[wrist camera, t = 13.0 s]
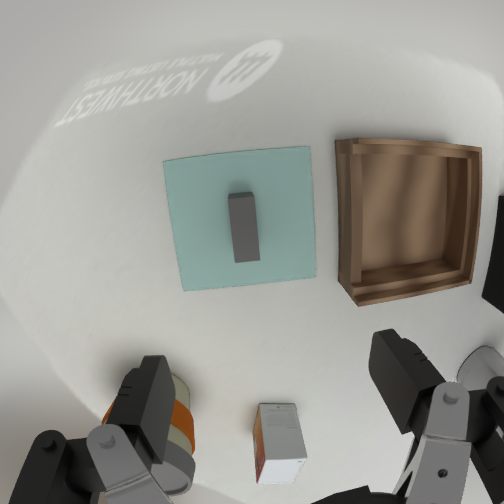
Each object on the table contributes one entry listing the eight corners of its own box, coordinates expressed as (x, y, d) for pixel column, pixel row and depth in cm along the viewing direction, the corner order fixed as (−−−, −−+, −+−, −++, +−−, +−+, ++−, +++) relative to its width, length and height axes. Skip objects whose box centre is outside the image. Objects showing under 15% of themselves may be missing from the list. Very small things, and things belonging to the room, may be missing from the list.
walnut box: (448, 145, 29) (481, 147, 23) (443, 265, 34) (471, 283, 28) (334, 140, 29) (358, 138, 23) (338, 281, 34) (357, 306, 28)
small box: (258, 402, 40) (265, 459, 30) (295, 403, 40) (308, 457, 30) (251, 433, 42) (255, 485, 32) (284, 433, 43) (294, 484, 33)
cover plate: (307, 146, 30) (320, 145, 25) (313, 273, 34) (325, 292, 30) (165, 161, 29) (152, 162, 25) (184, 287, 34) (177, 308, 29)
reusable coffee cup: (163, 345, 36) (135, 436, 21) (219, 403, 39) (216, 489, 25) (102, 376, 37) (67, 452, 23) (157, 425, 41) (141, 500, 27)
